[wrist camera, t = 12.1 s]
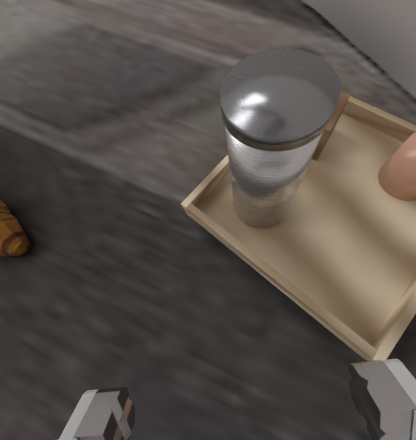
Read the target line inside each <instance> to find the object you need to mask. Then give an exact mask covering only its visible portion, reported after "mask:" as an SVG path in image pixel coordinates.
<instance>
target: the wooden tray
mask: <svg viewBox="0 0 416 440" xmlns="http://www.w3.org/2000/svg"><path fill="white" fill-rule="evenodd" d="M415 132H416V125H414V124H411V123H409V122H407V121H405V120H402V119H400V118H398V117H396V116H394V115H391V114H389V113H387V112H385V111H382V110H380V109H378V108H376V107H374V106H371V105H369V104H367V103H365V102H363V101H360V100H358V99H356V98H354V97H351V96H350V97H349V99H348V101H347V103H346V106H345V108H344V110H343V112H342V114H341V116H340V118H339V120H338V122H337V124H336V126H335V128H334V130H333V132H332V134H331V136H330V138H329V139H328V141H327V143H326V145H325V147H324V148H323V150H322V152H321V154H320V156H319V157H318V159H317V161H316V160H313V159H311V161H310V163H309V166H308V168H307V170H306V173H305V175H304V177H303V180H302V182H301V184H300V187H299V189H298V191H297V194H296V196H295V198H294V201H293V203H292V205H291V208H290V210H289V212H288V214H287V216H286V218H285V219H284V220H283V221H282V222H280V223H279V224H277V225H276V226H273V227H270V228H263V229H261V228H254V227H251V226H249V225H247V224H245V223H244V222H242V221H241V220H240V219H239V217H238V216H237V215H236V212H235V210H234V205H233V196H232V187H231V177H230V168H229V158H228V155H227V156H226V157H225V158H224V159H223V160H222V161H221V162H220V163H219V164H218V165H217V166H216V167H215V168H214V169H213V171H212V172H211V173H210V174H209V175H208V176H207V177H206V178H205V179H204V180H203V181H202V182H201V183H200V184H199V185H198V186H197V187H196V188H195V189H194V191H193V192H192V193H191V194H190V195H189V196H188V197H187V198H186V199H185V200H184V201H183V202H182V203H181V205H182V206H183V208H184V210H185V212H186V213H187V215H188V216H190V217H191V218H192V219H193V220H195V221H196V222H197V223H198V224H199V225H201V226H202V227H203V228H204V229H206V230H207V231H208V232H209V233H210V234H212V235H213V236H214V237H215V238H217V239H218V240H219V241H220V242H221V243H223V244H224V245H225V246H226V247H228V248H229V249H230V250H231V251H232V252H234V253H235V254H236V255H237V256H239V257H240V258H241V259H242V260H243V261H245V262H246V263H247V264H248V265H250V266H251V267H252V268H253V269H254V270H256V271H257V272H258V273H259V274H261V275H262V276H263V277H264V278H265V279H267V280H268V281H269V282H270V283H272V284H273V285H274V286H275V287H276V288H278V289H279V290H280V291H281V292H283V293H284V294H285V295H286V296H287V297H289V298H290V299H291V300H292V301H294V302H295V303H296V304H297V305H298V306H300V307H301V308H302V309H303V310H305V311H306V312H307V313H308V314H309V315H311V316H312V317H313V318H314V319H316V320H317V321H318V322H319V323H320V324H322V325H323V326H324V327H325V328H327V329H328V330H329V331H330V332H331V333H333V334H334V335H335V336H336V337H338V338H339V339H340V340H341V341H342V342H344V343H345V344H346V345H347V346H349V347H350V348H351V349H352V350H353V351H355V352H356V353H357V354H358V355H360V356H361V357H362V358H363V359H365V360H367V361H376V360H380V361H381V360H386V359H387V358H388V356H389V354H390V353H391V351H392V350H393V348H394V347H395V345H396V344H397V342H398V340H399V339H400V337H401V336H402V334H403V333H404V331H405V330H406V328H407V326H408V325H409V323H410V322H411V320H412V319H413V317H414V316H415V314H416V200H414V201H404V200H400V199H397V198H394V197H392V196H390V195H389V194H387V193H386V192H385V191H384V190H383V189H382V187H381V186H380V184H379V181H378V173H379V170H380V168H381V167H382V166H383V165H384V164H385V163H386V162H387V161H388V159H389V158H390V157H391V156H392V155H393V154H394V153H395V152H396V151H397V150H398V149H399V148H400V147H401V145H402V144H403V143H404V142H405V141H406V140H407V139H408V138H409V137H410V136H411V135H412V134H413V133H415Z"/></svg>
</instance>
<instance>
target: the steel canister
mask: <svg viewBox="0 0 416 440" xmlns="http://www.w3.org/2000/svg"><path fill="white" fill-rule="evenodd" d="M340 92H341V89H340V82H339V79H338V76H337V74H336V73H335V71H334V70H333V68H332V67H331V66H330V65H329V64H328V63H327V62H326V61H324V60H323V59H321V58H320V57H318V56H316V55H314V54H312V53H309V52H306V51H302V50H298V49H290V48H277V49H269V50H265V51H261V52H258V53H255V54H252V55H250V56H248V57H246V58H244V59H243V60H241V61H240V62H238V63H237V64H236V65H235V66H233V67H232V68H231V70H230V71H229V72H228V73H227V75H226V76H225V78H224V80H223V82H222V85H221V89H220V103H221V112H222V118H223V122H224V124H225V130H226V139H227V149H228V158H229V168H230V177H231V187H232V196H233V205H234V210H235V212H236V215H237V216H238V217H239V219H240V220H241V221H242V222H244V223H245V224H247V225H249V226H251V227H254V228H261V229H263V228H270V227H273V226H276V225H277V224H279V223H280V222H282V221H283V220H284V219H285V218H286V216H287V214H288V212H289V210H290V208H291V205H292V203H293V201H294V198H295V196H296V194H297V191H298V189H299V187H300V184H301V182H302V180H303V177H304V175H305V173H306V170H307V168H308V166H309V163H310V161H311V159H312V156H313V154H314V152H315V149H316V147H317V145H318V142H319V140H320V138H321V135H322V133H323V131H324V130H325V129H326V127H327V126H328V124H329V122H330V120H331V118H332V116H333V113H334V111H335V109H336V106H337V104H338V101H339V98H340Z"/></svg>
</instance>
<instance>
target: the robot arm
mask: <svg viewBox="0 0 416 440" xmlns="http://www.w3.org/2000/svg"><path fill="white" fill-rule="evenodd" d="M349 373H350V374H351V376H352V379H351V380H350V381H349V385H350V392H351V396H352V399H353V401H354V404H355V406H356V408H357V410H358V412H359V414H360V415H361V416H363V417H364V418H365V419H366V420H367V430H368V432H369V434H370V436H371V438H372V440H416V379H415V378H414V377H413V376H412V374H411V373H410V372H409V371H408V369H407V368H406V367H405V366H404V365H403V363H402V362H401V361H400V360H398V359H388V360H381V361H380V360H376V361H367V362H359V363H350V365H349ZM128 395H129V392H128V390H127V388H126V387H123V388H109V389H96V390H87V391H86V392H85V393H84V394H83V395H82V397H81V399H80V401H79V403H78V404H77V406H76V408H75V410H74V412H73V414H72V416H71V417H70V419H69V421H68V423H67V425H66V427H65V429H64V430H63V432H62V434H61V436H60V438H59V439H58V440H126V439H127V438H128V436H129V435H130V434H131V433H132V430H133V426H134V421H135V407H134V404H133V402H132V401H130V400H129V399H128Z"/></svg>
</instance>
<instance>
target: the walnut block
mask: <svg viewBox="0 0 416 440" xmlns="http://www.w3.org/2000/svg"><path fill="white" fill-rule="evenodd" d="M349 97H350V95H349V94H346V93H343V92H340V98H339V101H338V104H337V106H336V109H335V111H334V113H333V116H332V118H331V120H330V122H329V124H328V126H327V127H326V129H325V130H324V131H323V133H322V135H321V138H320V140H319V142H318V145H317V147H316V149H315V152H314V154H313V156H312V159H313V160H316V161H317V159H318V157H319V156H320V154H321V152H322V150H323V148H324V147H325V145H326V143H327V141H328V139H329V138H330V136H331V134H332V132H333V130H334V128H335V126H336V124H337V122H338V120H339V118H340V116H341V114H342V112H343V110H344V108H345V106H346V103H347V101H348V99H349Z"/></svg>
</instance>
